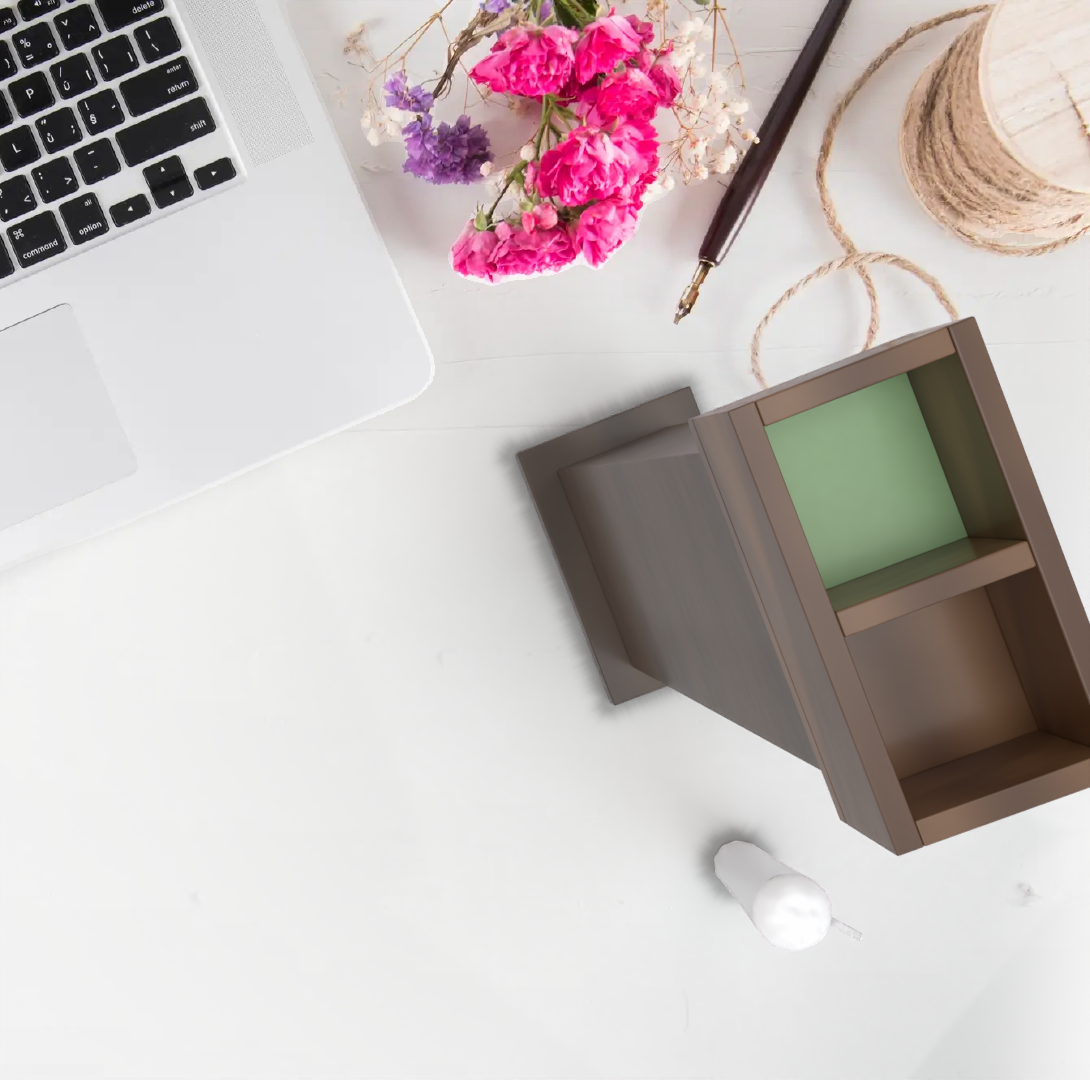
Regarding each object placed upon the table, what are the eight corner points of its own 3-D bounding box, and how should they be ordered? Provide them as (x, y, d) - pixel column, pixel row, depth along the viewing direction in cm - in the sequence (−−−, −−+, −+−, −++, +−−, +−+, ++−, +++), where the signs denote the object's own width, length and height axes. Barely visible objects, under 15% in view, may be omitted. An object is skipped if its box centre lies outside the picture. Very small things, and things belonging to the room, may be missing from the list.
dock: (907, 334, 39) (975, 314, 35) (1060, 740, 40) (1145, 768, 35) (686, 420, 40) (727, 411, 36) (839, 820, 40) (897, 856, 36)
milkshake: (775, 906, 68) (852, 976, 58) (696, 888, 68) (759, 954, 58) (791, 841, 68) (871, 900, 58) (712, 823, 68) (778, 878, 58)
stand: (684, 387, 67) (940, 307, 39) (781, 639, 67) (1103, 738, 39) (513, 453, 68) (645, 422, 40) (610, 703, 68) (807, 845, 40)
